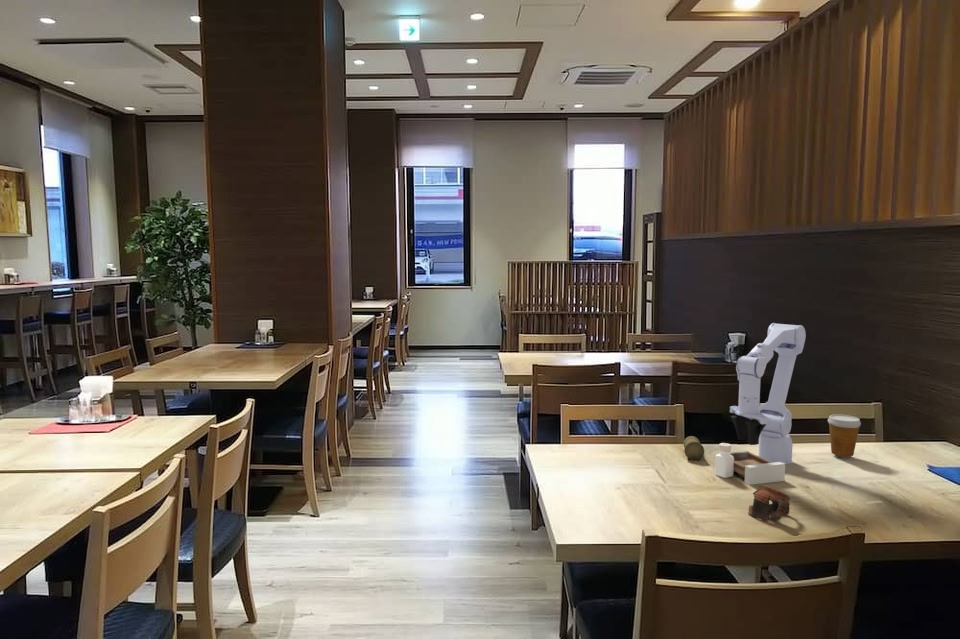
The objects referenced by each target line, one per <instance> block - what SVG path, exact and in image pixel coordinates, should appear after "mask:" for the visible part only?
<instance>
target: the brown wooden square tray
mask: <svg viewBox="0 0 960 639" xmlns="http://www.w3.org/2000/svg"><path fill="white" fill-rule="evenodd" d="M730 455H732V456H733V457H734V470H733V472H735V473H737V474H738V475H739V477H740V478H742V479H745V466H746V465H755V464H764V463H772V462H770V461H768V460H766V459H763V458H761V457H759V456H758V455H757V454H754V453H753V452H750V451H748V450H744V451H736V452H730Z"/></svg>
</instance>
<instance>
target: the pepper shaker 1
mask: <svg viewBox="0 0 960 639" xmlns="http://www.w3.org/2000/svg"><path fill="white" fill-rule="evenodd" d="M683 447H684V456H685V457H686V458H688V460H690V461H699V460H701V459H703V457H704V455H705V448H704V446H703V444H702V443H701V442H700V440H699V439H698V438H697V437H696V436H692V435H690V436H687V437H686V438H685V439H684V441H683Z"/></svg>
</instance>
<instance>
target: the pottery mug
mask: <svg viewBox="0 0 960 639" xmlns="http://www.w3.org/2000/svg"><path fill="white" fill-rule="evenodd" d="M752 495H753V502H752V505H749V506H748V515H749V516H753V517H755V518H757V519H760V520H761V521H764V522H769V518H770V517H771V519H772V520H774V521H777V520H780V519H781V518H782V516H784V515H789V513H790V509H791V508H790V505H791V504H790V499H791V497H790V496H789V495H787V494H786V493H784V492H782V491H780V490H777V489H775V488H772V487H769V486H766V485H761V484H760V485H759V489H757V490H755V491H754V492H753V493H752ZM770 502H771V503H770Z"/></svg>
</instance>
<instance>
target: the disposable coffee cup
mask: <svg viewBox="0 0 960 639" xmlns="http://www.w3.org/2000/svg"><path fill="white" fill-rule="evenodd" d="M827 422H828V424H829V425H828V426H829V437H830V439H829V440H830V450H831V451H830V452H831V454H833V455H835V456H838V457H844V458H846V457H847V458H850V457H854V454H855V449H856V445H857V439H858V436H859V431H860V427H861V425H862V422H861V420H860V418H858V417H856V416H853V415H848V414H847V415H846V414H831V415H829V417H828V419H827Z"/></svg>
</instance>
